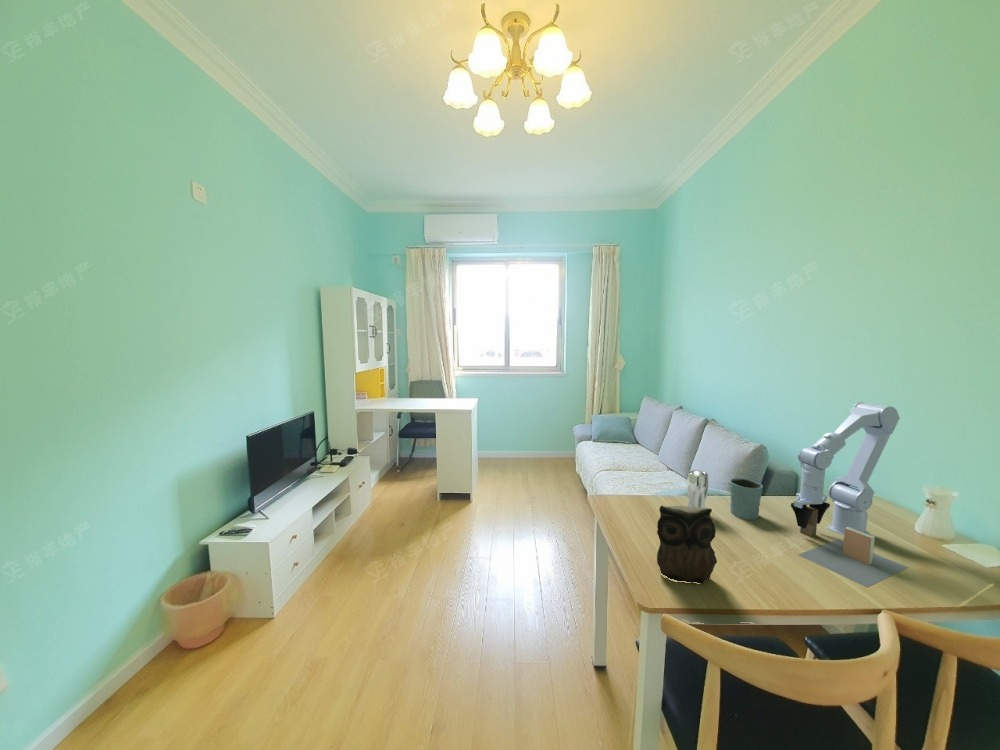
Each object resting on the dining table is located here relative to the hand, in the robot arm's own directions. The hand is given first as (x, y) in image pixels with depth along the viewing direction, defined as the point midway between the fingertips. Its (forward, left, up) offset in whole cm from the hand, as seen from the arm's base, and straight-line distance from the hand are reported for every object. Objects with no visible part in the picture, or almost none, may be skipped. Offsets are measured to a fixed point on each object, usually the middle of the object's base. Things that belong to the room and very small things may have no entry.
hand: (808, 524), depth 123 cm
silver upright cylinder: (+20, -26, -4) cm, 33 cm away
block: (0, 0, -3) cm, 3 cm away
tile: (+3, +14, -3) cm, 15 cm away
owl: (+55, -2, -4) cm, 55 cm away
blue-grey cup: (+5, -18, -4) cm, 19 cm away
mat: (+6, +14, -3) cm, 16 cm away
